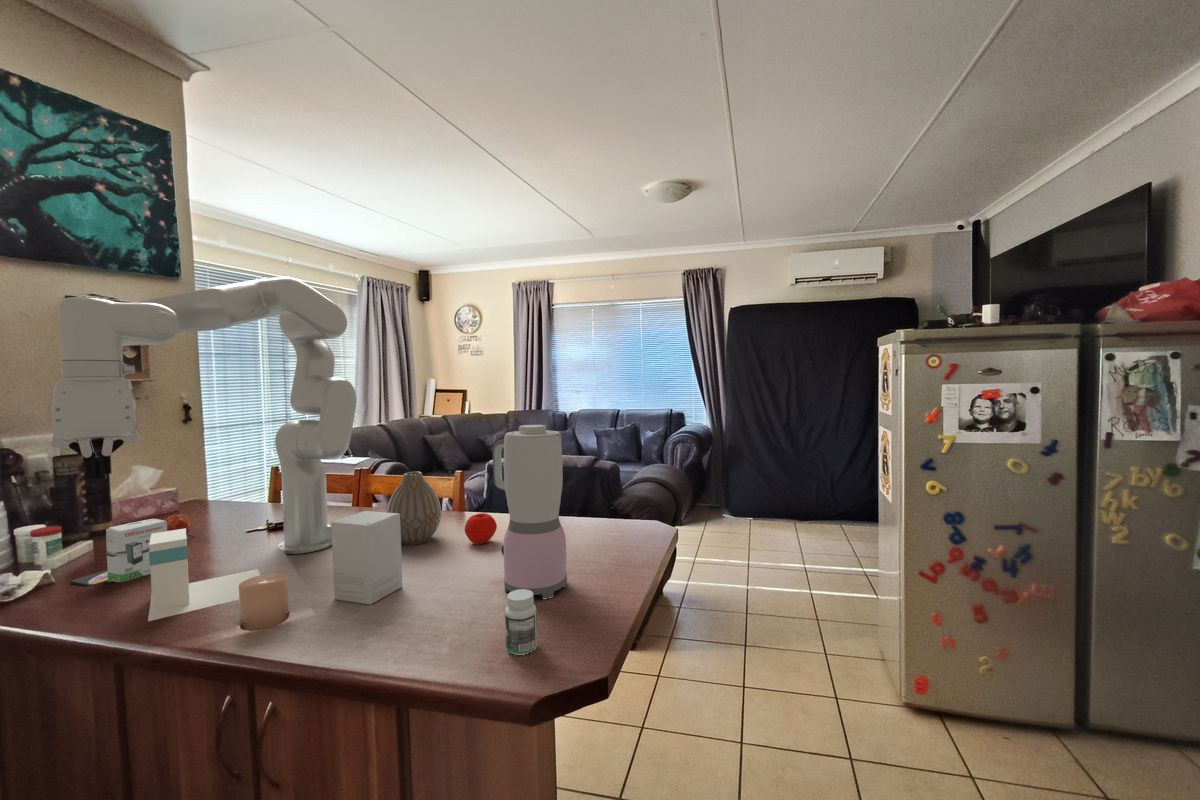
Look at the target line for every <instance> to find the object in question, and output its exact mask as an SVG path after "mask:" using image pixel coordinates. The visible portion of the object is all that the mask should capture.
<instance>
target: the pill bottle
mask: <svg viewBox="0 0 1200 800" xmlns="http://www.w3.org/2000/svg"><path fill="white" fill-rule="evenodd" d="M534 596H535V595H533V592H532V591H530V590H526V589H519V590H514V591H512V592H511V591H509V593H507V595H506V605H507V606H506V607H505V611H504V621H505V622H504V623H505V648H506V651H507V650H508V651H509V652H511V653H513V654H526V653H529V652H531V653H533V652H534V651H536V650H537V648H536V647H538V628H537V627H538V626H537V623H538V621H537V607H536V605H535V604H534V601H535V599H534ZM533 650H534V651H533ZM508 651H507V652H508ZM532 651H533V652H532ZM509 652H508V653H509Z"/></svg>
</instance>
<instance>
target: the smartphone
mask: <svg viewBox="0 0 1200 800" xmlns="http://www.w3.org/2000/svg"><path fill="white" fill-rule="evenodd" d="M70 583H71V585H76V586H82V587H91V586H96V585H101V584H105V583H106V584H107V583H109V582H108V569H106V570H101V571H99V572H95V573H92V574H89V575H85V576H81V577H79V578H76V579H73V580H71V582H70Z"/></svg>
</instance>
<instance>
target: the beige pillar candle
mask: <svg viewBox="0 0 1200 800" xmlns="http://www.w3.org/2000/svg"><path fill="white" fill-rule="evenodd" d="M288 581H289V580H288V575H287V574H286V573H279V572H278V573H265V574H260V576H256V577H252V578H250V579H247V580H245V581H243V582H241V583H240V584H239V600H238V601H239V602H238V603H239V604H238V605H239V621H240V622H241V623H242V624H240V629H241V630H242V629H243V630H242V631H245V630H249V631H248V632H253V631H252V630H258V631H263V630H267V628H268V629H270V627H271V628H274V627H277V626H279V625H281V624H282V623H284V622H286V621H287V620H288V619H289V617H290V612H289V610H290V609H289V608H290V605H289V587H288V585H289V584H288ZM278 624H279V625H278ZM273 626H274V627H273ZM262 629H263V630H262Z"/></svg>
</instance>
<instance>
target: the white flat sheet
mask: <svg viewBox="0 0 1200 800" xmlns="http://www.w3.org/2000/svg"><path fill="white" fill-rule="evenodd" d="M260 575H261V573H260V571H259V569H258V568H256V569H252V570H247V571H242V572H238V573H233V574H232V573H231V574H227V575H223V576H218V577H212V578H207V579H204V580H199V581H195V582H194V581H193V582H189V603H190V604H187V605H183V606H179V607H174V608H170V609H165V610H161V611H157V612H153V607H152V595H150V603H149V612H148V618H147V622H153V621H156V620H159V619H160V620H161V619H164V618H168V617H172V616H176V615H181V614H185V613H189V612H193V611H198V610H201V609H207V608H211V607H216V606H219V605H223V604H228V603H233V602H235V601H239V584H240V583H241V582H243V581H245V580H247V579H250V578H252V577H256V576H260Z"/></svg>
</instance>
